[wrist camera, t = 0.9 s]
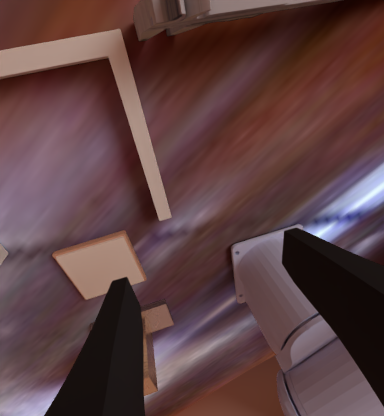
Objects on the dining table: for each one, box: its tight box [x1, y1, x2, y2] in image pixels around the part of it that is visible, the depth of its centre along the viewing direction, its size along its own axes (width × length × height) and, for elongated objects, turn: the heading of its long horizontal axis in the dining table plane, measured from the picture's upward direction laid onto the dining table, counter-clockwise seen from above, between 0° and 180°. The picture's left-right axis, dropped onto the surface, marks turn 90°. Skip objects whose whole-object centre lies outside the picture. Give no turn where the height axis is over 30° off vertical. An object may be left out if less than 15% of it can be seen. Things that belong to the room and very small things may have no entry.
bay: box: [0, 29, 171, 265], centre depth 15 cm, size 12×14×2 cm
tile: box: [52, 230, 146, 300], centre depth 21 cm, size 6×6×1 cm
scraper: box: [91, 299, 174, 396], centre depth 23 cm, size 4×8×7 cm, turn 101°
